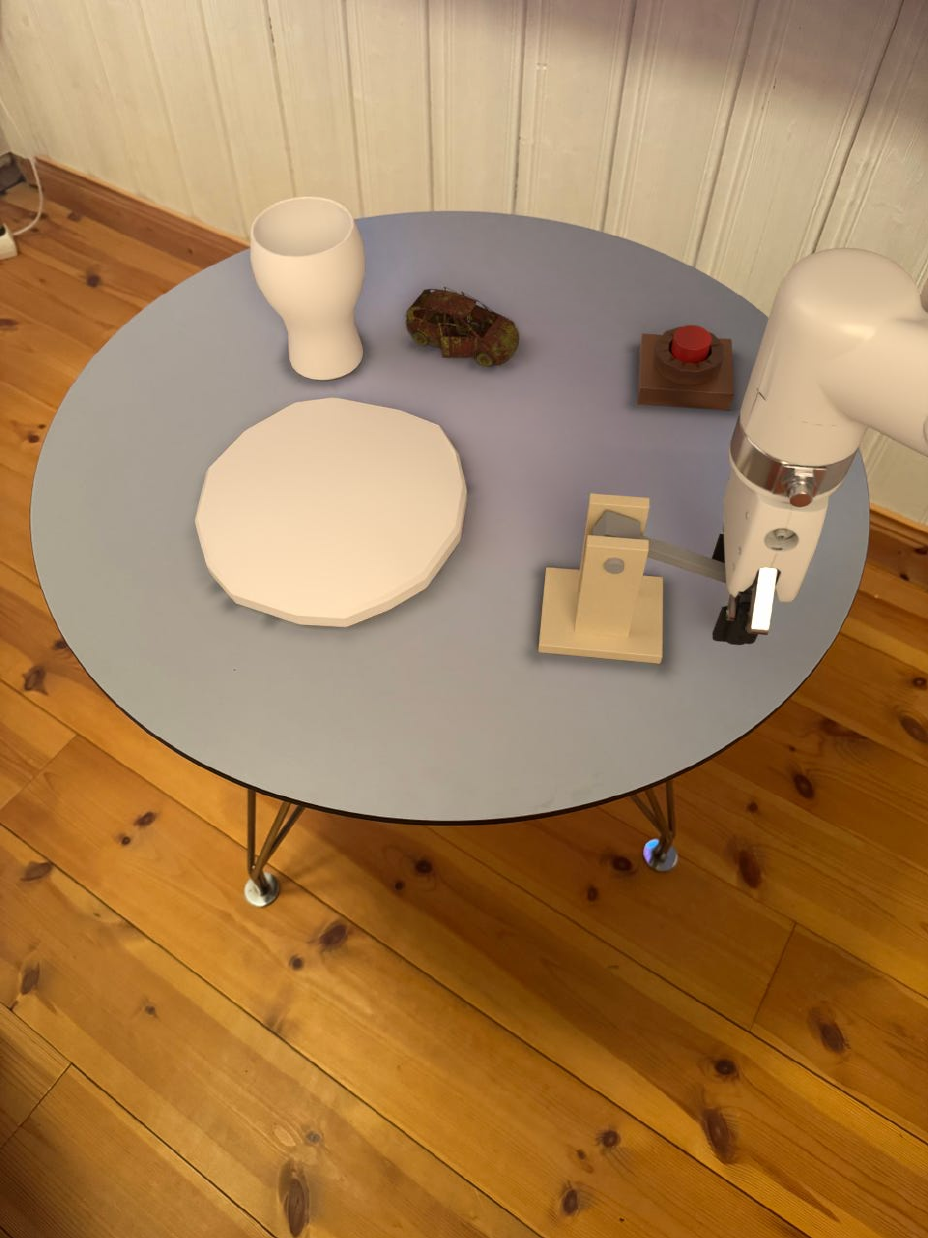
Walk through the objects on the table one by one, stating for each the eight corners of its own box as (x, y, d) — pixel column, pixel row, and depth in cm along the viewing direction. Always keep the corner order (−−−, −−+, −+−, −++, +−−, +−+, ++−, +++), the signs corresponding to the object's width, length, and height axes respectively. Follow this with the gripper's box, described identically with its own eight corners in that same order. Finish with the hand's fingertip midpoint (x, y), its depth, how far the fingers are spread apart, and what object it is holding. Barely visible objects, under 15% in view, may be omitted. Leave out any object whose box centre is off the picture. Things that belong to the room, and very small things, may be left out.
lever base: (661, 584, 80) (687, 485, 69) (660, 664, 75) (688, 570, 65) (545, 574, 80) (554, 474, 70) (538, 652, 76) (546, 558, 65)
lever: (740, 564, 74) (758, 547, 72) (743, 616, 71) (761, 600, 69) (593, 514, 71) (607, 495, 69) (590, 566, 68) (605, 548, 66)
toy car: (396, 348, 97) (392, 310, 93) (427, 309, 100) (425, 270, 96) (499, 382, 94) (499, 344, 90) (527, 341, 97) (529, 302, 93)
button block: (726, 355, 95) (735, 324, 92) (729, 410, 91) (738, 379, 88) (639, 350, 96) (644, 318, 93) (637, 404, 92) (643, 372, 88)
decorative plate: (259, 361, 90) (502, 415, 85) (268, 393, 94) (501, 446, 89) (131, 556, 77) (408, 631, 73) (147, 584, 81) (412, 658, 76)
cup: (255, 367, 96) (220, 238, 83) (316, 310, 101) (291, 180, 88) (337, 404, 93) (314, 275, 80) (396, 343, 98) (383, 212, 85)
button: (707, 340, 91) (711, 325, 90) (708, 364, 89) (712, 350, 88) (671, 337, 92) (673, 323, 90) (670, 362, 90) (673, 348, 88)
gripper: (869, 556, 54) (785, 702, 69) (839, 356, 63) (772, 523, 78) (738, 545, 54) (684, 692, 69) (728, 349, 64) (682, 516, 79)
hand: (731, 601), depth 74 cm, fingers open, 6 cm apart
